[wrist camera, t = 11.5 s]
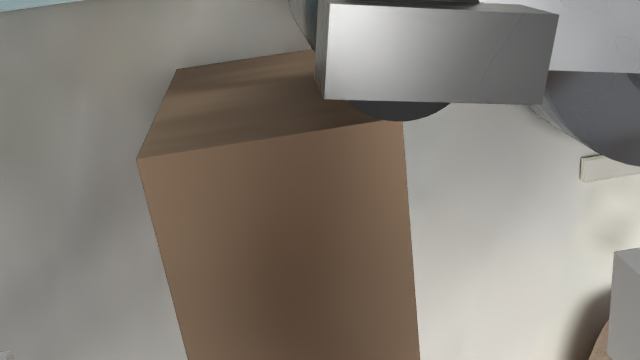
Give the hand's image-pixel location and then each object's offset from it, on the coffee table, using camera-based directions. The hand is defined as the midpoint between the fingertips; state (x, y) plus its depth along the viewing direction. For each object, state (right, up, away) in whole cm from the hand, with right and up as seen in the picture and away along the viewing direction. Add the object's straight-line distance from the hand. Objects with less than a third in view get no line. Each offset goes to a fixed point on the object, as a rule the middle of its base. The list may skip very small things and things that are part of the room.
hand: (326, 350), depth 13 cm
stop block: (-2, +4, +7) cm, 8 cm away
